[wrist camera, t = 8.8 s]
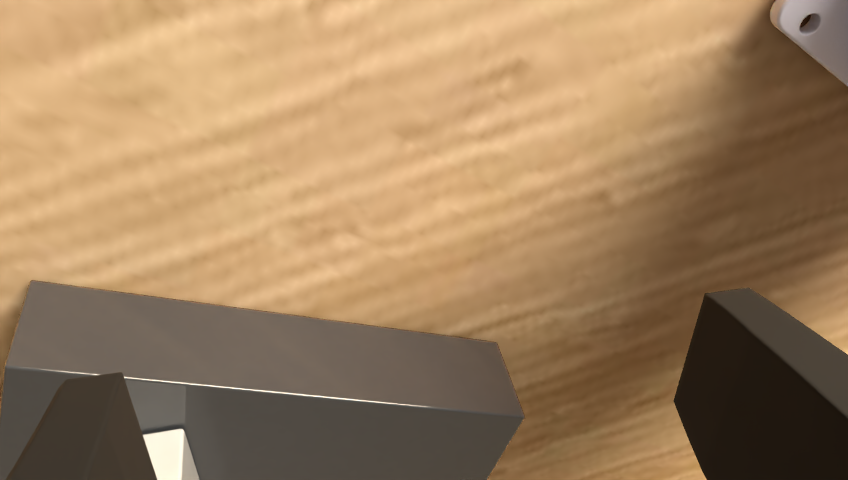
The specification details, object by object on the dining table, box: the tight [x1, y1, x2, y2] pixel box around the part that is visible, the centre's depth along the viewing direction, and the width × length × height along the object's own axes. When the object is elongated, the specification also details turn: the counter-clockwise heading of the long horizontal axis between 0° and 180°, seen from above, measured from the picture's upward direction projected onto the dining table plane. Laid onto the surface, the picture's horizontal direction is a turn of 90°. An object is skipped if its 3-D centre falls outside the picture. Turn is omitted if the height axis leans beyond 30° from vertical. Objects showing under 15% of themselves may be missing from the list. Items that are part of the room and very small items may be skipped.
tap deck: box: [0, 280, 525, 480], centre depth 23 cm, size 13×10×3 cm
